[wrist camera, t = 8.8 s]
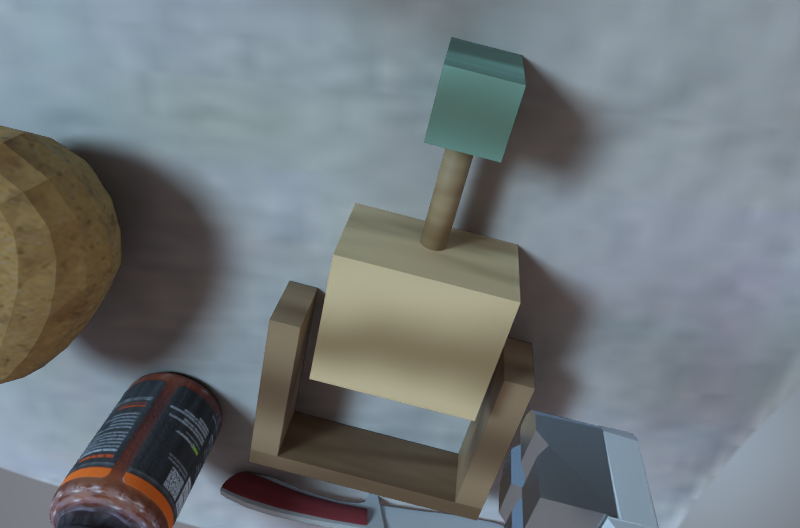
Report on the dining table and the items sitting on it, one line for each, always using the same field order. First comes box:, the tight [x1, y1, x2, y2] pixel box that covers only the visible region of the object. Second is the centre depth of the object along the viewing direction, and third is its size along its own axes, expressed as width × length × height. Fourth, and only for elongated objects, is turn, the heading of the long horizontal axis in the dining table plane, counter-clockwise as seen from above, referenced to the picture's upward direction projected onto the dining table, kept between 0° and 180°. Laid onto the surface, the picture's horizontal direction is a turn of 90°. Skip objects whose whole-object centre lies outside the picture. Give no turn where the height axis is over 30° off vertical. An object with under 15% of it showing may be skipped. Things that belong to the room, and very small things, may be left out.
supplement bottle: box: [50, 372, 222, 528], centre depth 35 cm, size 6×6×11 cm
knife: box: [220, 472, 504, 528], centre depth 41 cm, size 20×1×3 cm, turn 85°
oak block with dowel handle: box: [309, 37, 526, 421], centre depth 29 cm, size 16×8×5 cm, turn 168°
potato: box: [0, 126, 121, 384], centre depth 31 cm, size 10×14×8 cm
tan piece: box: [249, 281, 535, 521], centre depth 35 cm, size 10×13×4 cm
